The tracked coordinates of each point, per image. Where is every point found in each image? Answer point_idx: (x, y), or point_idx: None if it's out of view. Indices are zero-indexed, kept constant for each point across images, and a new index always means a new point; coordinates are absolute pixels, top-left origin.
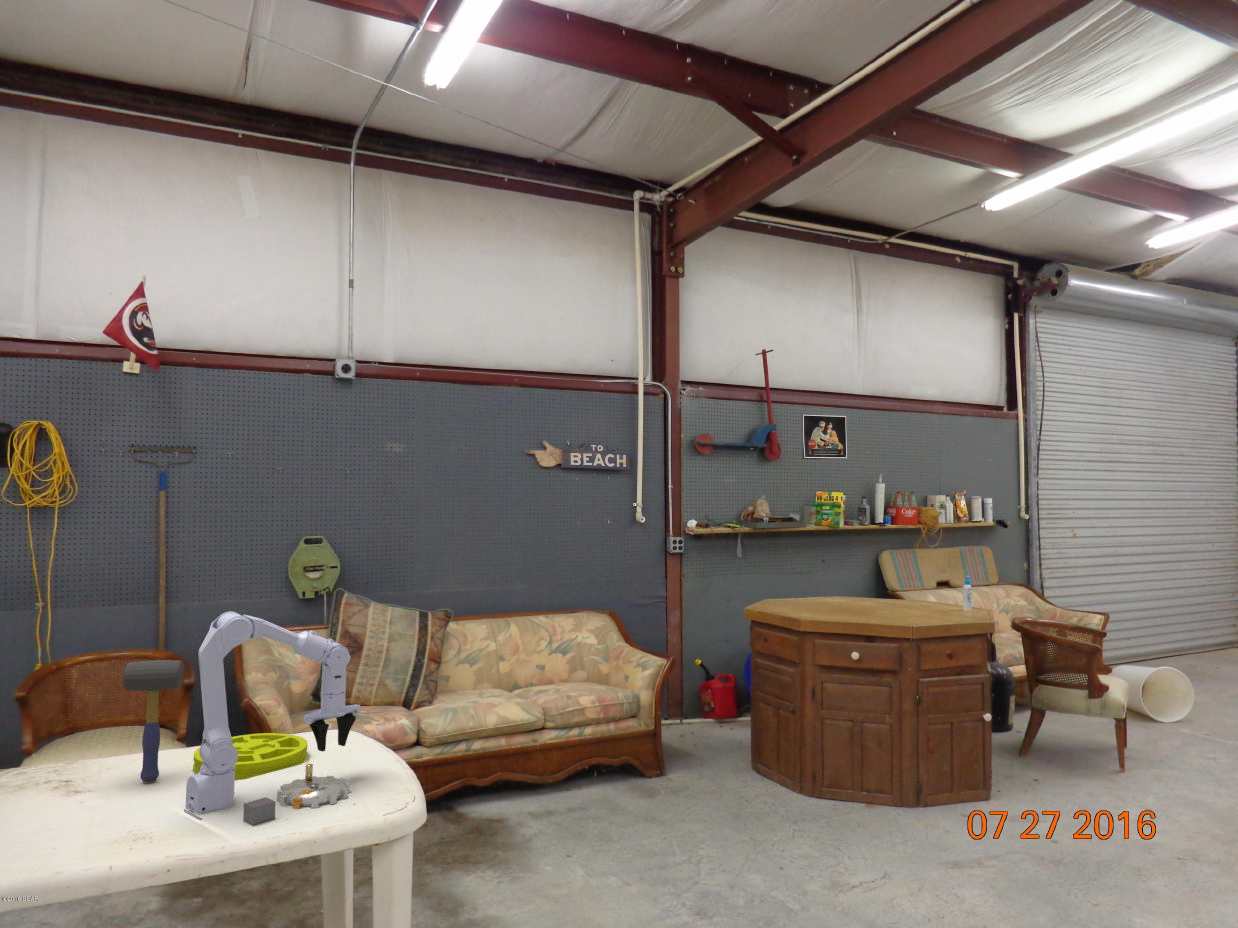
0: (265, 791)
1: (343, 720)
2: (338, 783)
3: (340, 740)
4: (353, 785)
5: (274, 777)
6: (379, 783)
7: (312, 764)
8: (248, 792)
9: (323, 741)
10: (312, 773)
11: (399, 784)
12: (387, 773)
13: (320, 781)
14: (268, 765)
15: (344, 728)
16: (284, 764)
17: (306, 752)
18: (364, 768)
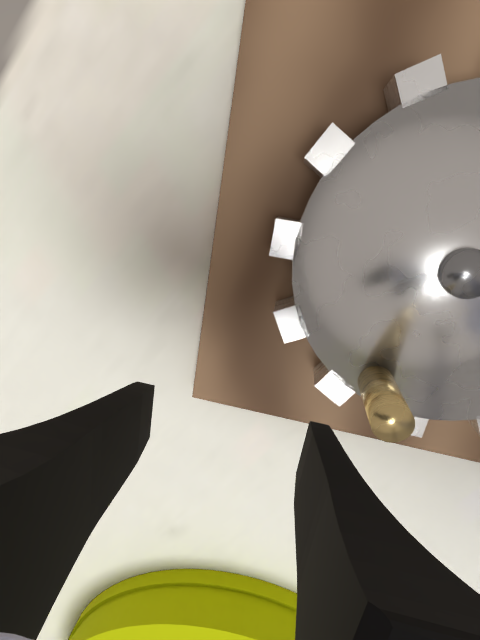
0: (425, 504)
1: (5, 577)
2: (353, 196)
3: (137, 436)
4: (196, 254)
5: (292, 566)
6: (112, 167)
7: (377, 412)
8: (461, 546)
9: (349, 469)
10: (369, 383)
11: (63, 63)
12: (13, 238)
13: (372, 309)
14: (291, 631)
15: (69, 475)
16: (226, 600)
17: (84, 616)
18: (39, 364)
